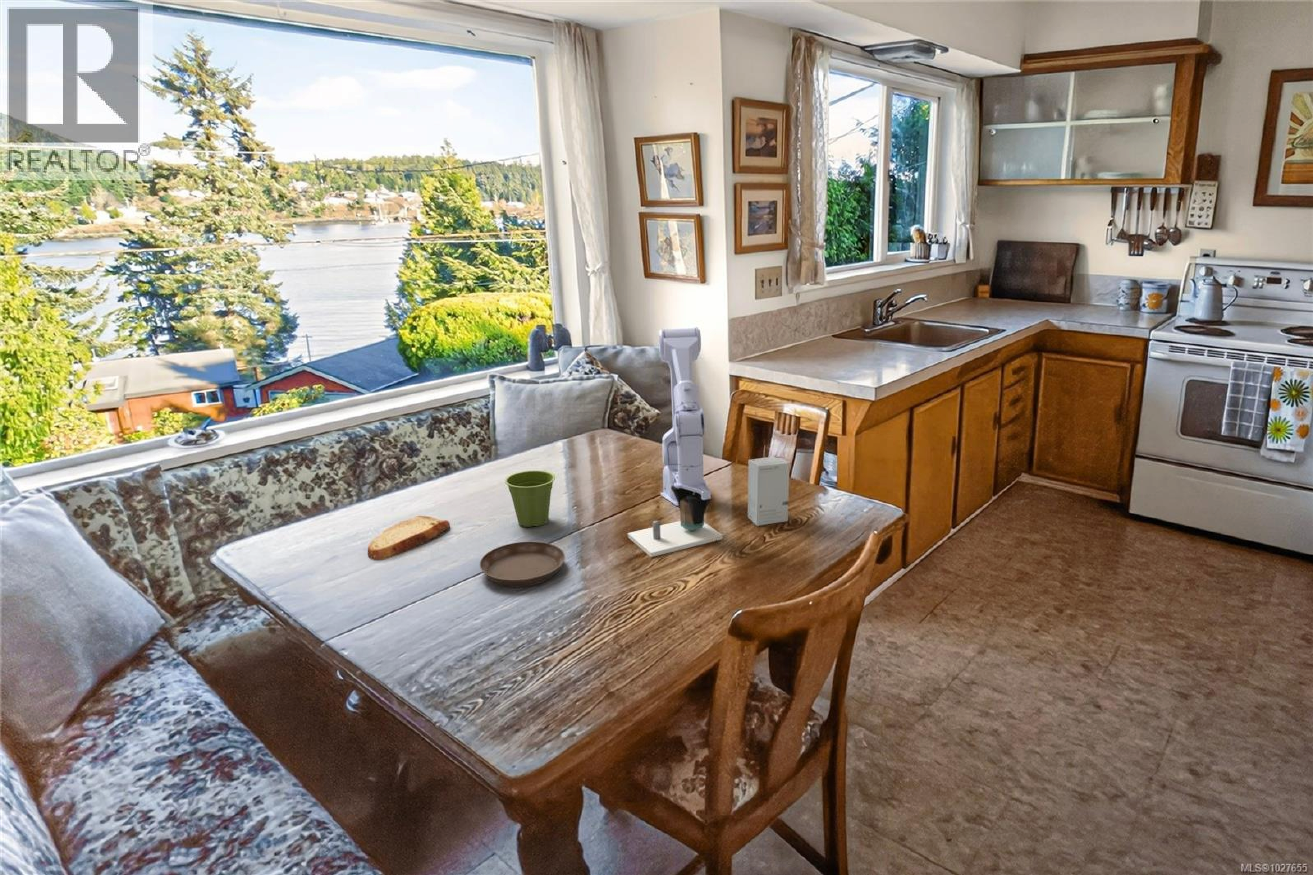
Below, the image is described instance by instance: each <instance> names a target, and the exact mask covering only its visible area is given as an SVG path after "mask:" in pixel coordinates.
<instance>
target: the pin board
mask: <svg viewBox="0 0 1313 875" xmlns="http://www.w3.org/2000/svg"><path fill="white" fill-rule="evenodd" d="M723 536H724V535H723V534H722V533H720V532H719V531H718V530H716V529H715V528H713V527H712V526H710V525H709V524H707V523H706V522H704V525H703V527H702V528H700V529H695V530H691V529H684V528H683V527H682V526H681V520H678V521H673V522H670V523H665V524H662V525H661V521H660V520H654V521H652V527H648V528H644V529H643V528H642V529H639V530H635V531H631V532H627V538H628V539H630V540H631V541H632V543H634V544H635V545H637V546H638V547H639V548H640V549H641V550H642V551H643V552H644V553H646V554H647V555H648V556H649V557H650V558H653V557H657V556H661V555H664V554H670V553H673V552H677V551H681V550H685V549H689V548H692V547H697V546H701V545H704V544H709V543H713V542H717V541H720V540H723ZM716 540H717V541H716Z"/></svg>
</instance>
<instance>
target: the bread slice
mask: <svg viewBox="0 0 1313 875" xmlns="http://www.w3.org/2000/svg"><path fill="white" fill-rule="evenodd" d="M450 525H451V524H450V522H449V520H447V519H444V520H441V519H438V518H435V517H432V516H425V515H416V516H414V517H412V518H410V519H407V520H403V521H400V522H398V523H396V524H394V525H392V526H390V527H389V528H386V529H385V530H383V532H381V534H379V535H377V536H376V537H375V538H374V539H373V540H371V541H370V544H369V545H368V547H367V556H368V558H370V559H371V560H372V561H373V560H374V561H379V560H381V561H382V560H385V559H386V560H387V559H389V558H392V557H394V556H397V555H398V556H399V555H400V554H402V553H404V552H407V551H409V550H412V549H414V548H416V547H418V546H421V545H422V544H425V543H427V542H429V541H431V540H433V539H435V538H436V537H439V535H441V534H442V533H444V532H446V531H447V530H448V529H449V528H450Z"/></svg>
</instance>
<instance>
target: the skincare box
mask: <svg viewBox="0 0 1313 875" xmlns="http://www.w3.org/2000/svg"><path fill="white" fill-rule="evenodd" d="M747 465H748V472H747V474H748V476H747V480H748V482H747V518H748V519H750V521H751V522H752V523H753V524H754V525H756V526H757V527H759V526H765V525H766V526H767V525H772V524H777V523H785V522H788V519H789V496H790V495H789V491H790V490H789V489H790V462H789V461H788V460H785V458H782V457H781V456H771V457H770V456H769V457H761V458H754V459H753V458H751V459H748V464H747Z"/></svg>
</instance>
